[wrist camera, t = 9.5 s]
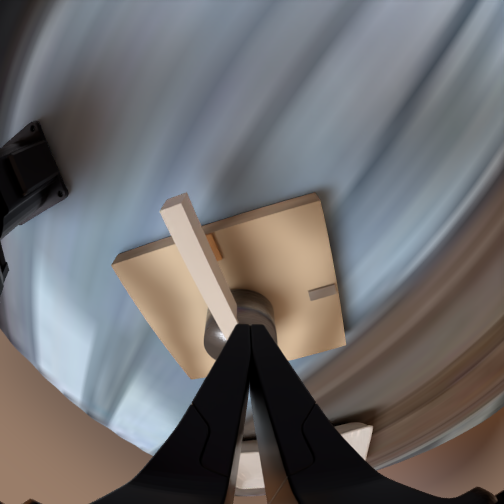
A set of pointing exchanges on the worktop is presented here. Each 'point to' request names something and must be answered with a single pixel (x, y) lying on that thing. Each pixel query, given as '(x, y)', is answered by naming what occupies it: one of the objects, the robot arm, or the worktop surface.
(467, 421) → the worktop surface
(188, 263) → the wooden latch lever
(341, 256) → the worktop surface
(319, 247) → the board
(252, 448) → the square plate
